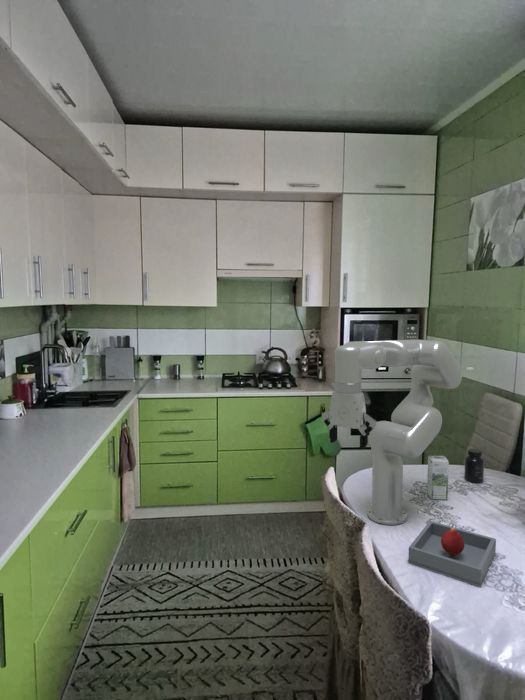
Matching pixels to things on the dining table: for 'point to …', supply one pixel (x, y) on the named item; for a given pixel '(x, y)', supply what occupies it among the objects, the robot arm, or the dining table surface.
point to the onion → (452, 542)
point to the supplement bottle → (474, 466)
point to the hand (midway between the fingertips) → (348, 444)
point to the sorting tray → (462, 566)
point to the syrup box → (438, 477)
